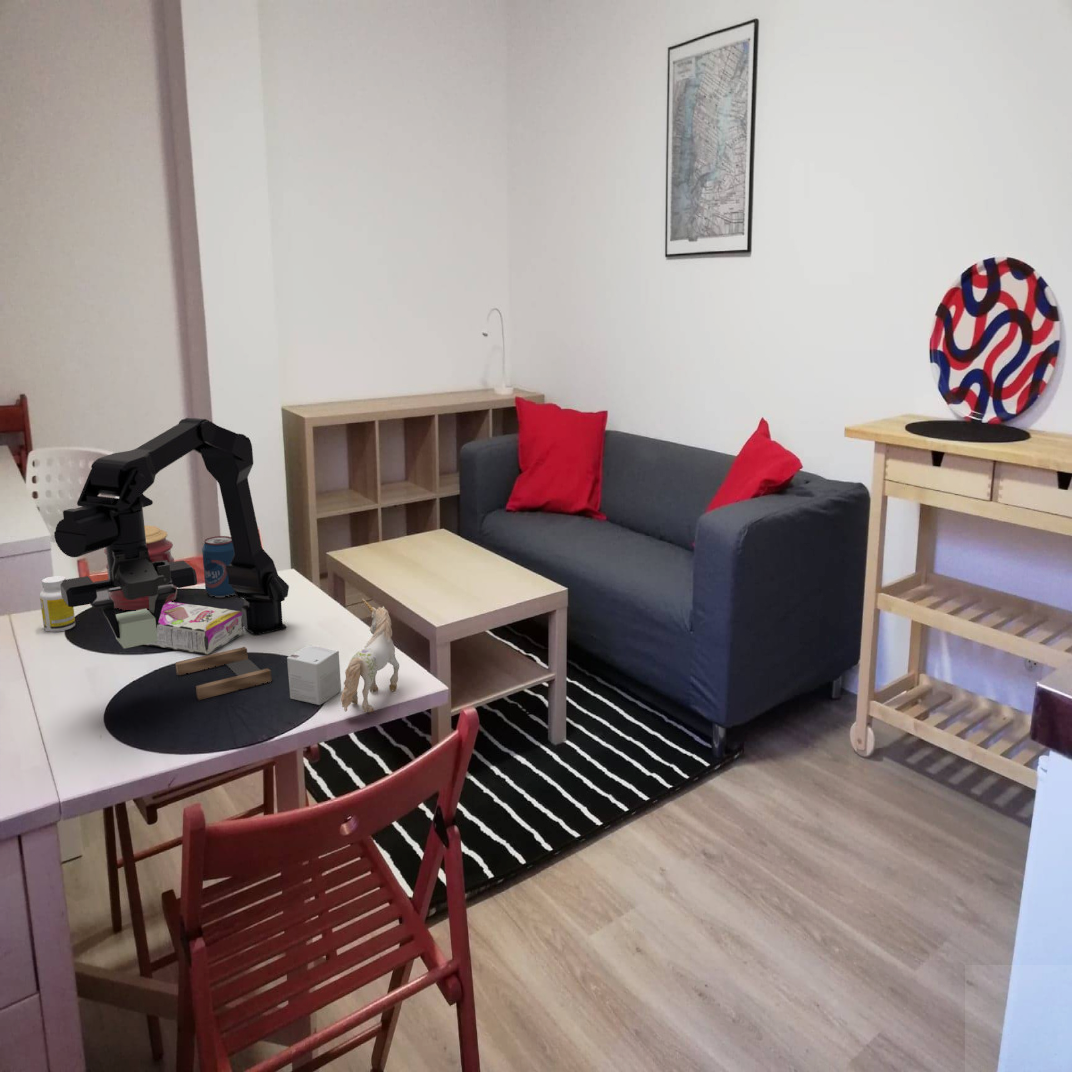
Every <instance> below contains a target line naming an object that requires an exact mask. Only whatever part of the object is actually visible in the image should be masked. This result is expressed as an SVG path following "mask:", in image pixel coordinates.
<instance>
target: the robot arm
mask: <svg viewBox="0 0 1072 1072" xmlns="http://www.w3.org/2000/svg"><path fill="white" fill-rule="evenodd" d="M192 451H195V452H197V453H198V454H199V455H201V458H202V461H203V463H204V466H205V468H206V471H207V472H209V474H210V475H211V476H212V477H213V479H215V481H216V482H217V483H218V485H219V489H220V490H219V491H220V494H221V498H222V503H223V509H224V512H225V516H226V520H227V527H228V529H229V535H230V537H231V539H232V544H233V548H234V557H233V559H232V561H231V563H230V564H229V565H227V566H226V571H227V574H228V579H229V582H228V584H229V585H231V586H232V588H233V589H234V592H235V594H234V595H235V597H236V598H237V599H243V605H242V606H241V612H242V623H243V625H242V626H243V628H245V629H246V630H247V631H248V632H249V633H250V634H252V635H254V636H257V635H262V634H266V633H270V632H276V631H279V630H284V629H286V628H287V625H286V624H285V623H284V622H283V609H282V607H283V606H282V602H284V601H285V598H287V597H288V595H289V589H290V585H289V584H288V583H287V582H286V581H284V580H283V578H282V577H281V576H280V575H279V574H278V570H277V567H276V565H275V562H274V560H273V558H271V557H270V555H269V553H267V552H266V551H265V550H264V549H263V546H262V542H261V541H262V540H261V536H260V533H259V527H258V523H257V518H256V514H255V508H254V507H255V506H254V504H253V498H252V493H251V488H250V483H249V475H250V473H251V470H252V469H253V465H254V453H253V444H252V442H251V439H250V438H249V437H248V436H246V435H245V434H244V433H243V434H242V433H236V432H235V431H231V430H230V429H227V428H224V427H222V426H219V425H217V424H216V423H214V422H212V421H210V420H209V419H206V418H195V417H186V418H183V419H181V420H180V421H179V422H178V424H176V425H174V426H172V427H171V428H169V429H167V430H165V431H164V432H162V433H160V434H158V435H157V436H154V437H153V438H152V439H150V440H149V441H147V442H145V443H144V444H142V445H140V446H138V447H137V448H133V449H130V450H127V451H126V450H125V451H121V452H120V451H119V452H113V453H111V454H107V455H104V456H102V457H98V458H97V459H96V460H95V461H94V462H92V463H91V466H90V467H91V468H90V469H91V470H90V471H89V473H88V475H87V479H86V481H85V483H84V485H83V488H82V490H81V492H80V494H79V497H78V499H77V502H76V505H77V506H78V507H76V508H68V509H64V510H63V511H62V515H63V519H60V520H59V521H58V522H57V524H56V526H55V531H54V533H53V534H54V540H55V543H56V545H57V547H58V548H59V550H60V551H61V552H62V553H63V554H64V555H66V557H67V556H68V557H70V558H78V557H79V558H80V557H81V556H85V555H88V554H90V553H91V554H92V553H93V552H96V551H99V550H101V549H105V548H106V554H107V555H106V554H105V555H106V561H107V563H108V572H107V574H108V573H109V580H108V579H105V580H98V581H93V580H92V579H91V578H90V576H88V575H85V576H81V577H73V578H68V579H66V580H64V581H63V582H62V583H61V586H60V588H61V595H62V598H63V600H64V601H65V602H66V604H67V605H68V607H73V608H75V607H81V606H85V605H86V606H87V605H90V606H91V607H92V608H99V609H100V610H101V612H102V613H103V615H104V617H105V619H106V620H107V623H108V624H109V626H110V628H111V630H112V632H113V634H114V636H115V638H116V637H117V639H118V638H120V631H119V626H118V622H117V618H116V611H115V607H114V602H113V600H112V599H111V598H110V596H109V593H110V592H113V591H118V590H122V592H123V594H124V597H125V598H126V599H128V600H135V599H137V598H140V597H146V596H149V610H148V611H150V613H151V614H152V615H153V616H154V617H155V620H156V629H157V625H158V622H159V618H160V615H161V611H162V608H163V605H164V603H165V601H166V599H167V598H168V597H169V595H170V594H174V593H176V589H175V588H174V587H173V585H174V586H176V587H177V588H178V589H180V588H188V587H191V586H192V587H193V586H195V585H197V584H198V579H197V577H198V576H197V572H196V569H195V568H194V567H193V566H191V565H190V564H189V563H187V561H185V560H179V561H178V560H177V561H174V562H171V563H168V561H167V560H163V561H157V562H152V561H151V559H150V557H149V552H148V547H147V545H146V536H145V526H144V525H145V518H144V512H143V511H144V508H146V507H149V506H152V505H153V503H154V502H153V500H152V499H150V498H149V497H147V496H146V495H145V494H144V493H145V492H146V491H147V490H148V489H149V488H151V486H152V485H154V482H155V478H156V475H158V473H159V472H161V471H162V470H164V469H165V468H166V467H168V466H170V465H171V464H173V463H175V462H177V461H178V460H179V459H181V458H183V457H184V456H186V455H188V454H189V453H191V452H192ZM99 495H101V496H99ZM156 571H157V572H156ZM117 639H116V640H117Z"/></svg>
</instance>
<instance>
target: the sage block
mask: <svg viewBox="0 0 1072 1072" xmlns="http://www.w3.org/2000/svg"><path fill="white" fill-rule="evenodd" d="M115 614H116V613H115ZM116 618H117V622H118V626H119V631H120V638H118V639H117V637H116V636H115V640H116V641H117V642H118V643H119V644H120V646H121V647H122V649H124V650H125V649H129V648H132V647H138V646H143V645H144V644H148V643H153V642H157V641H158V640H157V630H156V620H155V617H154V616H153V615H152V614H151V613H150V612H149V610H147V609H141V610H136V611H126V612H121V613H117V614H116Z"/></svg>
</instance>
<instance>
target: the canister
mask: <svg viewBox="0 0 1072 1072" xmlns="http://www.w3.org/2000/svg"><path fill="white" fill-rule="evenodd" d="M144 526H145V536H146V545H147V547H148V552H149V557H150V559H151V561H152V562H157V561H163V560H167V561H168V563H171V562H175V558H174V557H173V556H172V552H171V550H172V549H173V546H174V545H173V542H172V541H170V540H169V539H167V537H168V532H167V531H165V530H163V529H161V528H160V527H157V526H155V525H146V524H144ZM103 553H104V554H105V555H106V556H107V554H106V548H103ZM105 567H106V571H107V577H108V579H107V580H109V573H108V562H107V563H106V565H105ZM156 572H157V571H156ZM173 587H174V588H175V589H176V593H174V594H170V595H169V597H168V598H167V599H166V601H165V603H164V604H166V603H168V602H170V601H173V602H175V601H176V600H177V594H178V589H177V587H176V586H174V585H173ZM109 597H110V598H111V599H112V600H113V602H114V609H117V608H119V609H118V610H120V609H122V610H121V611H125V610H141V609H149V596H146V597H140V598H137V599H135V600H128V599H126V598H125V597H124V594H123V592H122V590H118V591H113V592H109ZM174 600H175V601H174Z"/></svg>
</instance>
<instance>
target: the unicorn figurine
mask: <svg viewBox="0 0 1072 1072" xmlns="http://www.w3.org/2000/svg"><path fill="white" fill-rule="evenodd" d="M361 601H362V602H363V603H364V604H365V606H366V608H368V610H369V611H370V613H371V620H372V621H371V625H370V627H369V631H370V633H371V634H372V636H371V638H370V639H369V640H368V641H367V643H366V645H365V646H364V648H363V649H361V650H358V651H357V652H356V653H355V654H354V655H353V656H352V657H351V659H350V660H349V663H348V665H347V668H346V669H345V671H344V673H345V680H344V682H343V685H344V688H343V690H342V693H341V697H340V703H341V707H342V708H343V710H344V712H348V707H350V706H351V704H355V705H357V704H358V700H359V696H358V687H359V684H360V683H359V682H360V678H362V679H363V682H364V684H363V689H362V691H361V693H362V697H363V701H362V703H361V704H362V705H361V708H362V710H363V713H364V714H366V713H367V712H368V713H372V712H375V711H374V708H373V706H372V705H371V704H370V703H369V698H368V697H369V696H368V695H369V693H373V691H374V692H377V691H378V690H379V687H378V685H377V682H376V681H377V680H376V677H377V676H376V675H377V673H378V671H380V670H382V669H384V668H385V667H386V666H387V664H390V665H392V668H393V674H392V675H391V677H390V679H389V681H390V684H389V686H388V688H389V691H390V692H396V691H397V687H398V681H399V670H400V663H399V662H398V660H397V657H396V647H395V645H394V641H393V639H392V637H393V630H392V620H391V617H390V615H389V611H388V610H387V609H386V608H385V606H382V607H381V606H378V608H377V609H376V607H374V606H372V605H371V604H370V603H369V602H368V601H366V599H364V598H361ZM392 690H393V691H392Z"/></svg>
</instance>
